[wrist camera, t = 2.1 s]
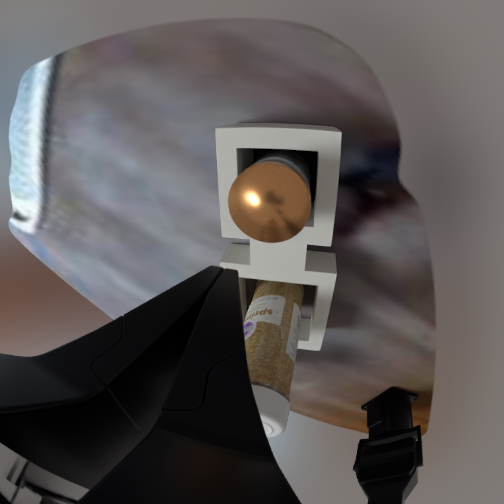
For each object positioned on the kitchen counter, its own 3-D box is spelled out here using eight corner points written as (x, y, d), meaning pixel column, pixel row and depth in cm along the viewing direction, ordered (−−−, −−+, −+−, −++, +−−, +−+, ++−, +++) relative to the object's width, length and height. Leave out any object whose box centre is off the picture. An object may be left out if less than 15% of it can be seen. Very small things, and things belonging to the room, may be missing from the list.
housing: (320, 328, 26) (319, 363, 22) (235, 317, 28) (223, 350, 24) (347, 128, 16) (357, 134, 13) (224, 123, 18) (200, 129, 14)
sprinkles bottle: (266, 261, 23) (219, 401, 12) (314, 281, 23) (299, 426, 12) (248, 296, 26) (202, 424, 15) (291, 314, 26) (267, 445, 15)
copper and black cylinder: (310, 207, 18) (307, 246, 13) (252, 203, 19) (230, 239, 14) (313, 149, 16) (313, 167, 11) (251, 146, 17) (225, 163, 12)
